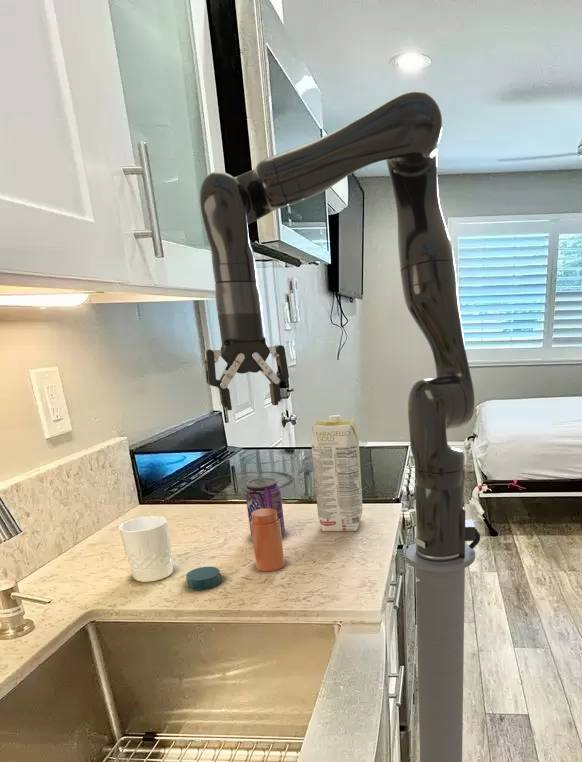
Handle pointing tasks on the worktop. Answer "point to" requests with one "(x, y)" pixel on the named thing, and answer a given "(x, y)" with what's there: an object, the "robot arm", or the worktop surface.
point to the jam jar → (267, 539)
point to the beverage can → (264, 498)
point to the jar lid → (203, 578)
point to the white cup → (147, 547)
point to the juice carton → (337, 474)
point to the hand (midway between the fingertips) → (252, 407)
